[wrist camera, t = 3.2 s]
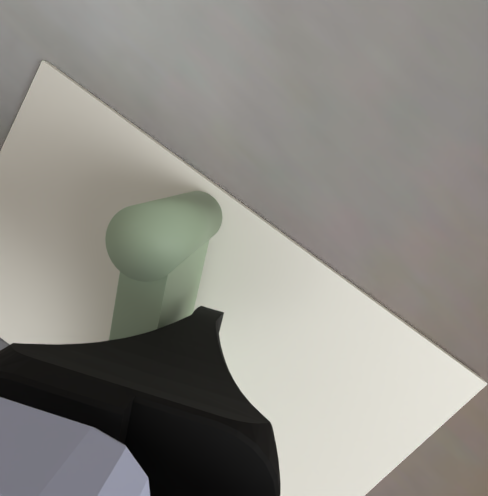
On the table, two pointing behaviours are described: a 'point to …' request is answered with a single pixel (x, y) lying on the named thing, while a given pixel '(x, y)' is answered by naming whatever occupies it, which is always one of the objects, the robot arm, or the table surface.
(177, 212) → the hinged fence section
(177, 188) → the card
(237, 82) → the table surface
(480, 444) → the table surface
